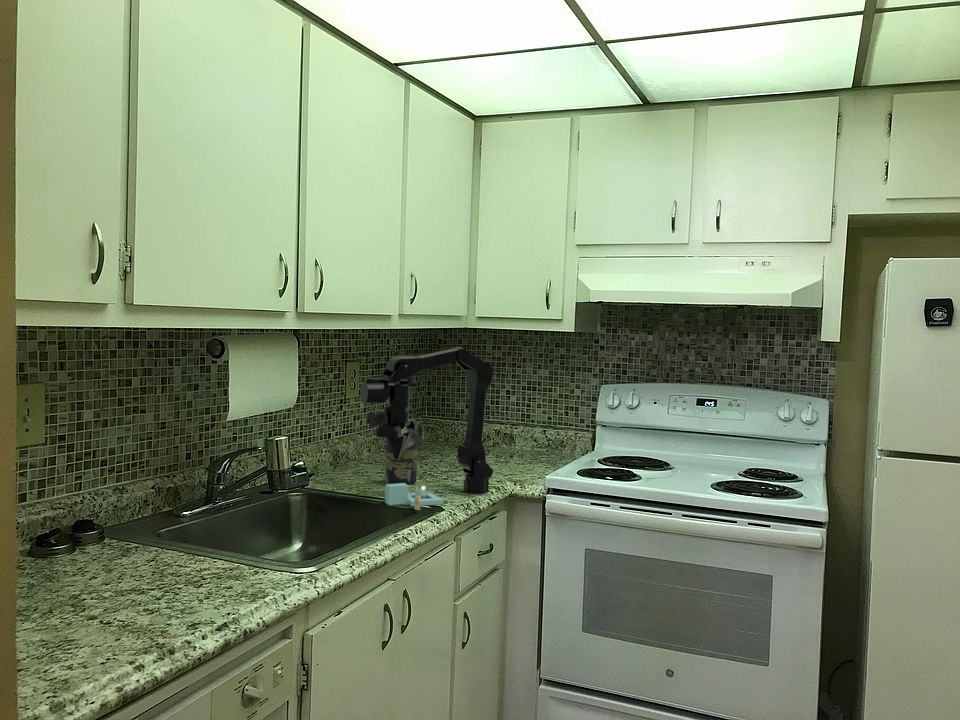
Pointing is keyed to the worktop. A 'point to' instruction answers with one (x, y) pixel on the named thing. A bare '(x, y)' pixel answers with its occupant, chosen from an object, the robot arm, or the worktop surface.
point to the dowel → (417, 503)
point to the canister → (403, 462)
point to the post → (421, 491)
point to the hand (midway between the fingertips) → (396, 458)
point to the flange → (407, 496)
